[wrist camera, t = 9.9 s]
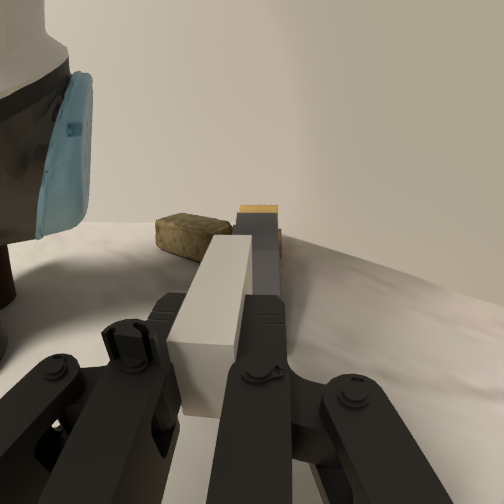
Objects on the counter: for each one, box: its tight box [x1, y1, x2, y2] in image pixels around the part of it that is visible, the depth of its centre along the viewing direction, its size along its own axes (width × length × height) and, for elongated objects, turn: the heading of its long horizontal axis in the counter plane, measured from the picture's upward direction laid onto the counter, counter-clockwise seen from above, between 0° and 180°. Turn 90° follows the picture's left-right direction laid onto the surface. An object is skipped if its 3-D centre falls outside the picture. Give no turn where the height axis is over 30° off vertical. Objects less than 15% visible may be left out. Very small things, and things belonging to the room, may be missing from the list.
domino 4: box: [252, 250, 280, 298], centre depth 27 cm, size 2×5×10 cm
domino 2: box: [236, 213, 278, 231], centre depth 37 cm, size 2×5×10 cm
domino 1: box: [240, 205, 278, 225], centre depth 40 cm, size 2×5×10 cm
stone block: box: [155, 213, 233, 262], centre depth 44 cm, size 6×12×5 cm, turn 56°
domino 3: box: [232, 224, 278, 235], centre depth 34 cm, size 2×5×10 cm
